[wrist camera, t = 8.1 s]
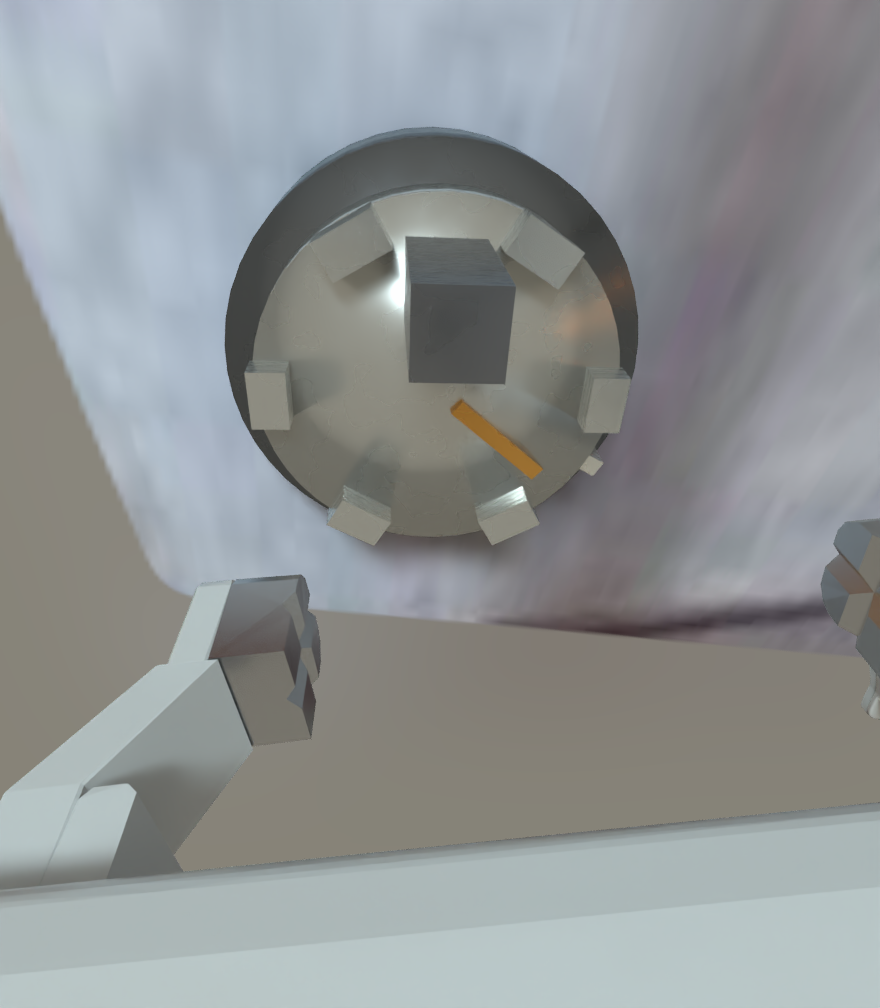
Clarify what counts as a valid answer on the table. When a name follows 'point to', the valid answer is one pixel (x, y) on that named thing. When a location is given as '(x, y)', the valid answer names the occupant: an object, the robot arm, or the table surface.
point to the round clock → (436, 364)
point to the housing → (405, 164)
